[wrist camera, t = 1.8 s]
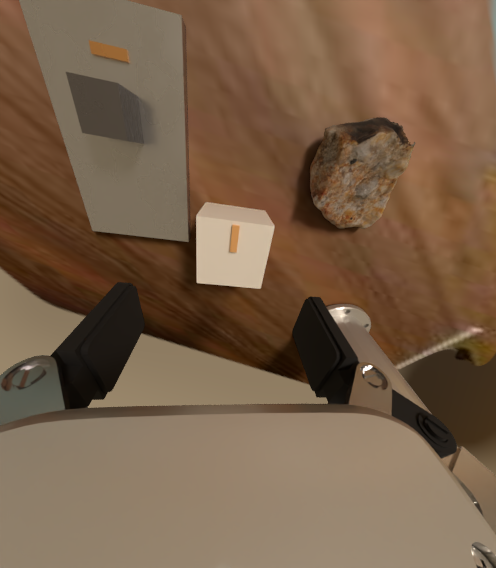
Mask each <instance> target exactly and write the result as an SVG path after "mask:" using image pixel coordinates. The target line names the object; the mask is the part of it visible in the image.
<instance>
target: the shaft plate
mask: <svg viewBox="0 0 496 568" xmlns="http://www.w3.org/2000/svg"><path fill="white" fill-rule="evenodd" d="M19 1H20V5H21V8H22V11H23V14H24V17H25V20H26V23H27V27H28V30H29V33H30V36H31V39H32V42H33V45H34V48H35V52H36V55H37V58H38V61H39V64H40V67H41V70H42V74H43V77H44V80H45V83H46V86H47V89H48V92H49V95H50V99H51V102H52V105H53V108H54V111H55V114H56V117H57V121H58V124H59V127H60V130H61V133H62V136H63V139H64V142H65V146H66V149H67V152H68V155H69V158H70V161H71V164H72V168H73V171H74V174H75V177H76V180H77V183H78V186H79V190H80V193H81V196H82V199H83V202H84V205H85V208H86V211H87V215H88V218H89V221H90V224H91V227H92V230H93V231H98V232H107V233H116V234H124V235H133V236H142V237H150V238H159V239H167V240H176V241H185V242H189V240H190V239H191V233H190V191H189V150H188V108H187V67H186V26H185V23H184V21H183V18H182V15H179V14H175V13H171V12H168V11H164V10H160V9H157V8H153V7H149V6H146V5H142V4H138V3H135V2H131V1H127V0H19Z"/></svg>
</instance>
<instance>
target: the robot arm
mask: <svg viewBox="0 0 496 568" xmlns="http://www.w3.org/2000/svg"><path fill="white" fill-rule="evenodd" d="M144 325H145V323H144V318H143V314H142V310H141V305H140V301H139V297H138V293H137V289H136V287H135V286H133V285H132V284H131V283H122V282H118V283H117V284H116V285H115V286H114V287H113V288H112V289H111V290H110V291H109V292H108V293H107V295H106V296H105V297H104V298H103V299H102V300H101V301H100V302H99V303H98V304H97V306H96V307H95V308H94V309H93V310H92V311H91V312H90V313H89V314H88V315H87V316H86V317H85V318H84V319H83V321H82V322H81V323H80V324H79V325H78V326H77V327H76V328H75V329H74V330H73V332H72V333H71V334H70V335H69V336H68V337H67V338H66V339H65V340H64V341H63V343H62V344H61V345H60V346H59V347H58V348H57V349H56V350H55V351H54V352H53V354H52V355H51V356H45V355H41V356H34V357H31V358H28V359H25V360H23V361H21V362H19V363H17V364H15V365H13V366H12V367H10V368H9V369H7V370H6V371H5V372H4V373H3V374H1V375H0V568H496V475H495V474H494V473H492V472H491V471H490V470H489V469H488V468H487V467H485V466H484V465H483V464H482V463H481V462H480V461H479V460H477V459H476V458H475V457H474V456H473V455H472V454H470V453H469V452H468V451H467V450H466V449H465V448H464V447H460V448H459V447H458V446H457V445H456V441H455V439H454V437H453V435H452V434H451V432H450V431H449V430H448V428H447V427H446V426H445V425H444V424H443V423H442V422H441V421H440V420H439V419H437V418H436V417H435V416H433V415H432V414H431V413H430V412H429V410H428V409H427V408H426V406H425V405H424V404H423V403H422V401H421V400H420V399H419V397H418V396H417V395H416V393H415V392H414V391H413V390H412V388H411V387H410V386H409V385H408V383H407V382H406V381H405V379H404V378H403V377H402V376H401V374H400V373H399V372H398V370H397V369H396V368H395V366H394V365H393V364H392V362H391V361H390V360H389V359H388V357H387V356H386V355H385V353H384V352H383V351H382V350H381V348H380V347H379V346H378V344H377V343H376V342H375V341H374V339H373V338H372V337H371V335H370V334H369V331H370V328H371V321H370V318H369V317H368V315H367V314H366V313H365V312H364V311H363V310H362V309H361V308H359V307H357V306H354V305H349V304H337V305H331V306H327V307H326V306H325V304H324V303H323V301H322V300H321V298H320V297H309V298H308V299H306V300H305V302H304V304H303V306H302V309H301V311H300V314H299V316H298V318H297V321H296V323H295V326H294V328H293V337H294V340H295V343H296V346H297V349H298V352H299V355H300V357H301V360H302V363H303V366H304V369H305V372H306V375H307V378H308V381H309V384H310V386H311V389H312V390H313V391H315V394H316V397H326V398H327V400H328V404H250V405H249V404H246V405H182V406H132V407H105V408H88V407H87V406H89V404H90V402H91V401H92V400H93V399H94V400H95V399H96V400H97V399H98V400H99V399H104V398H105V396H106V394H107V392H110V391H111V390H112V389H113V388H114V386H115V384H116V382H117V380H118V378H119V376H120V374H121V372H122V370H123V368H124V366H125V364H126V362H127V360H128V359H129V357H130V355H131V352H132V350H133V349H134V347H135V345H136V343H137V341H138V339H139V337H140V335H141V333H142V331H143V329H144Z"/></svg>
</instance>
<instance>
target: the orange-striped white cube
mask: <svg viewBox="0 0 496 568" xmlns="http://www.w3.org/2000/svg"><path fill="white" fill-rule="evenodd" d="M274 227H275V226H274V224H273V223H272V221H271V219H270V218H269V216H268V215H267V213H266V211H264V210H257V209H250V208H243V207H236V206H230V205H223V204H216V203H209V202H206V203H205V204H204V205H203V207H202V208H201V210H200V211H199V213H198V214H197V215H196V264H197V283H202V284H213V285H224V286H236V287H247V288H258V289H261V285H262V280H263V276H264V271H265V267H266V263H267V258H268V254H269V249H270V245H271V241H272V236H273V232H274Z"/></svg>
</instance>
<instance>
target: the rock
mask: <svg viewBox="0 0 496 568" xmlns="http://www.w3.org/2000/svg"><path fill="white" fill-rule="evenodd" d="M414 145H415V142H414V144H413V145H410V142H409V141H408V139H407V137H406V136H405V133H404V132H403V127H402V126H399V124H398V123H394V122H390V121H389V120H388V119H387V118H371V119H367V120H365V121H362V122H355V123H345V124H340V125H334V126H331V127H329V128H326V129H325V132H324V138H323V140H322V142H321V145H320V146H319V148H318V150H317V153H316V156H315V158H314V160H313V161H312V163H311V166H310V176H311V177H310V189H311V196H312V198H313V202H314V205H315V206H316V207H317V208H318V209H319V210H321V211H322V214H323V216H324V218H325V219H327V220H328V221H330V222H331V223H332V224H334V225H335V226H336V227H338V228H347V227H354V226H356V227H360V228H367V227H369V226H371V225H372V224H373V223H374V222H375V221H377V220H378V219H379V218H380V217H381V215H382V213H383V211H384V209H385V206H386V203H387V201H388V199H389V197H390V192H391V191H392V190H393V188H394V186H395V184H396V182H397V178H398V176H400V175H401V174H402V173H403V172H404V171H405V170H406V168H407V166H408V163H409V160H410V158H411V153H412V151H413V147H414Z"/></svg>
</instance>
